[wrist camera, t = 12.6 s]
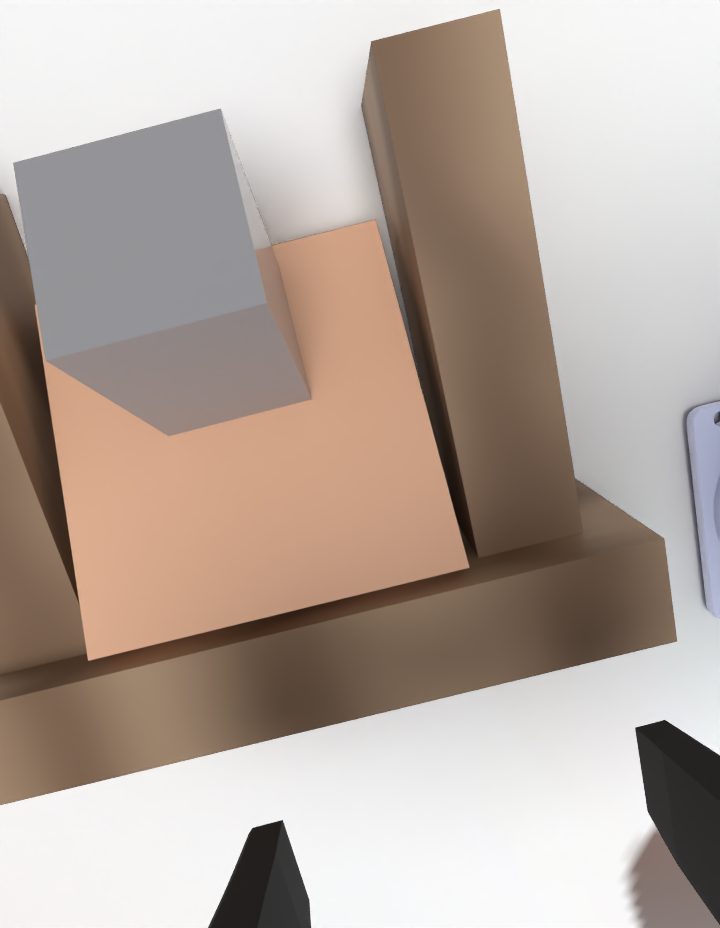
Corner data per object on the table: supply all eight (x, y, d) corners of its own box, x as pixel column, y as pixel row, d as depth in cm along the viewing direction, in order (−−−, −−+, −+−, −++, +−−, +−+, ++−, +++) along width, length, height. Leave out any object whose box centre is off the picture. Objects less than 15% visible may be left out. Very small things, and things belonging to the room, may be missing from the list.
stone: (279, 266, 17) (220, 108, 11) (311, 399, 17) (267, 303, 11) (142, 302, 17) (13, 163, 11) (168, 436, 17) (45, 360, 11)
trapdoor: (376, 242, 19) (375, 219, 17) (464, 568, 17) (469, 567, 16) (57, 321, 19) (34, 304, 18) (109, 654, 17) (88, 660, 16)
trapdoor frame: (508, 68, 18) (591, -45, 13) (585, 555, 22) (677, 641, 16) (-140, 231, 19) (-354, 194, 13) (50, 685, 22) (-47, 816, 17)
